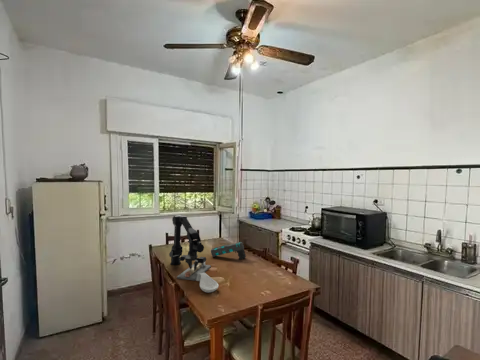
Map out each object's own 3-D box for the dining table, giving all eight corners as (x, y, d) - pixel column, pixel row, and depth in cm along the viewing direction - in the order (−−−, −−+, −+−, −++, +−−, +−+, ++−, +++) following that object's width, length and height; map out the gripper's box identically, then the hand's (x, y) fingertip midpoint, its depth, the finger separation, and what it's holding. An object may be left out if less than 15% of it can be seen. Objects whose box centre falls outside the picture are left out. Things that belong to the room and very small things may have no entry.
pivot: (200, 264, 208) (201, 261, 208) (204, 264, 207) (204, 262, 207) (198, 266, 203) (198, 263, 203) (201, 266, 202) (201, 264, 202)
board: (176, 278, 182) (176, 276, 182) (194, 265, 209) (194, 263, 209) (195, 280, 178) (195, 278, 178) (210, 266, 205) (210, 265, 205)
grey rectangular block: (198, 264, 206) (198, 258, 206) (205, 265, 205) (205, 259, 205) (196, 265, 204) (196, 259, 203) (203, 266, 202) (203, 260, 202)
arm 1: (198, 265, 203) (198, 262, 203) (199, 266, 202) (199, 263, 202) (185, 276, 181) (185, 273, 181) (186, 276, 181) (186, 273, 181)
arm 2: (200, 266, 202) (200, 263, 202) (201, 266, 202) (201, 263, 202) (186, 276, 181) (186, 273, 181) (188, 277, 181) (188, 273, 181)
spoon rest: (221, 292, 161) (221, 281, 161) (203, 296, 156) (203, 284, 156) (207, 279, 182) (207, 268, 182) (190, 282, 176) (190, 271, 176)
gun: (245, 258, 221) (240, 241, 222) (214, 266, 228) (209, 249, 229) (247, 256, 228) (242, 239, 229) (216, 263, 234) (211, 247, 235)
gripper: (176, 251, 185) (175, 272, 185) (200, 253, 180) (199, 276, 180) (183, 247, 196) (183, 267, 196) (206, 249, 191) (206, 270, 191)
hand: (192, 270), depth 190 cm, fingers open, 3 cm apart
